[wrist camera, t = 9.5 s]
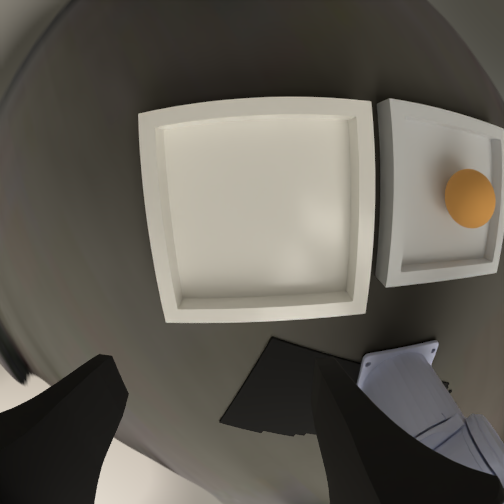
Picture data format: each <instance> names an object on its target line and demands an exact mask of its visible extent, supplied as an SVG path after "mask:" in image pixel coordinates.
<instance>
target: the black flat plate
mask: <svg viewBox="0 0 504 504" xmlns="http://www.w3.org/2000/svg"><path fill="white" fill-rule="evenodd" d="M326 357H334V358H335V359H336V360H337V361H338V362H339V364H340V365H341V366H342V367H343V369H344V370H345V371H346V372H347V374H348V375H349V376H350V377H351V378H352V380H353V381H354V382H355V383H356V384H357V380H358V376H359V372H360V368H361V364H360V363H357V362H353V361H349V360H346V359H342V358H338V357H335V356H331V355H328V354H325V353H321V352H318V351H315V350H311V349H308V348H305V347H302V346H298V345H295V344H292V343H289V342H286V341H283V340H280V339H277V338H274V337H272V338H271V340H270V342H269V343H268V345H267V347H266V348H265V350H264V352H263V353H262V355H261V357H260V358H259V360H258V362H257V363H256V365H255V367H254V368H253V370H252V372H251V373H250V375H249V376H248V378H247V380H246V381H245V383H244V384H243V386H242V388H241V389H240V391H239V392H238V394H237V396H236V397H235V399H234V400H233V402H232V403H231V405H230V406H229V408H228V409H227V411H226V413H225V414H224V416H223V417H222V419H221V420H220V423H223V424H226V425H230V426H234V427H238V428H242V429H246V430H250V431H254V432H259V433H262V432H263V431H267V432H272V433H277V434H282V435H288V436H294V435H295V434H298V435H305V434H306V433H309V434H316V430H315V426H314V420H313V413H312V404H311V393H312V385H313V376H314V366H315V359H317V358H326ZM442 383H443V384H444V386H445V387H446V389H447V388H448V384H449V383H446V382H442ZM448 392H449V393H451V392H452V391H451V390H449V391H448ZM316 435H317V434H316Z"/></svg>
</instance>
